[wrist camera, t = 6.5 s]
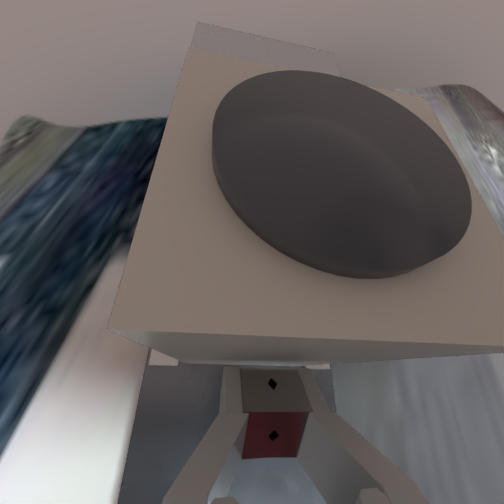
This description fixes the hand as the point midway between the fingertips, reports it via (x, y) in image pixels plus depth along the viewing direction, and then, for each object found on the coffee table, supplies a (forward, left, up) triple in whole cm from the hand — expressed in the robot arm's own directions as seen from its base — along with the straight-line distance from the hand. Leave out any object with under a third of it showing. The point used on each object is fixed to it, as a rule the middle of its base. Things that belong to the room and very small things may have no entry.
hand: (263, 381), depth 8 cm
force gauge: (-3, -4, -5) cm, 7 cm away
